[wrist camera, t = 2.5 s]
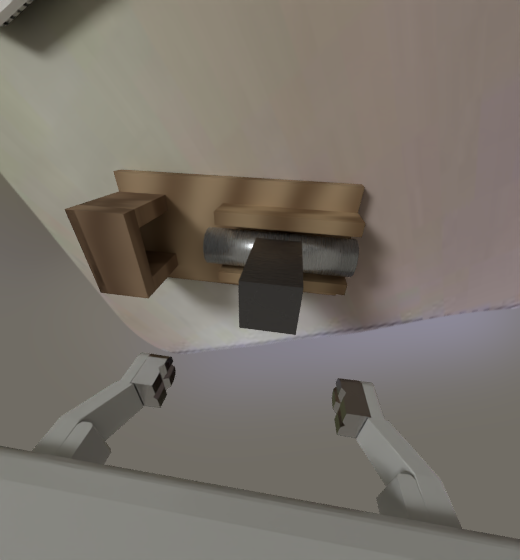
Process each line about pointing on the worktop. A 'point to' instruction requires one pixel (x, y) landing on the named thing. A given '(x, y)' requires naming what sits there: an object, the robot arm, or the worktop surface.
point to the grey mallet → (276, 270)
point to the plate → (11, 10)
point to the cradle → (203, 225)
